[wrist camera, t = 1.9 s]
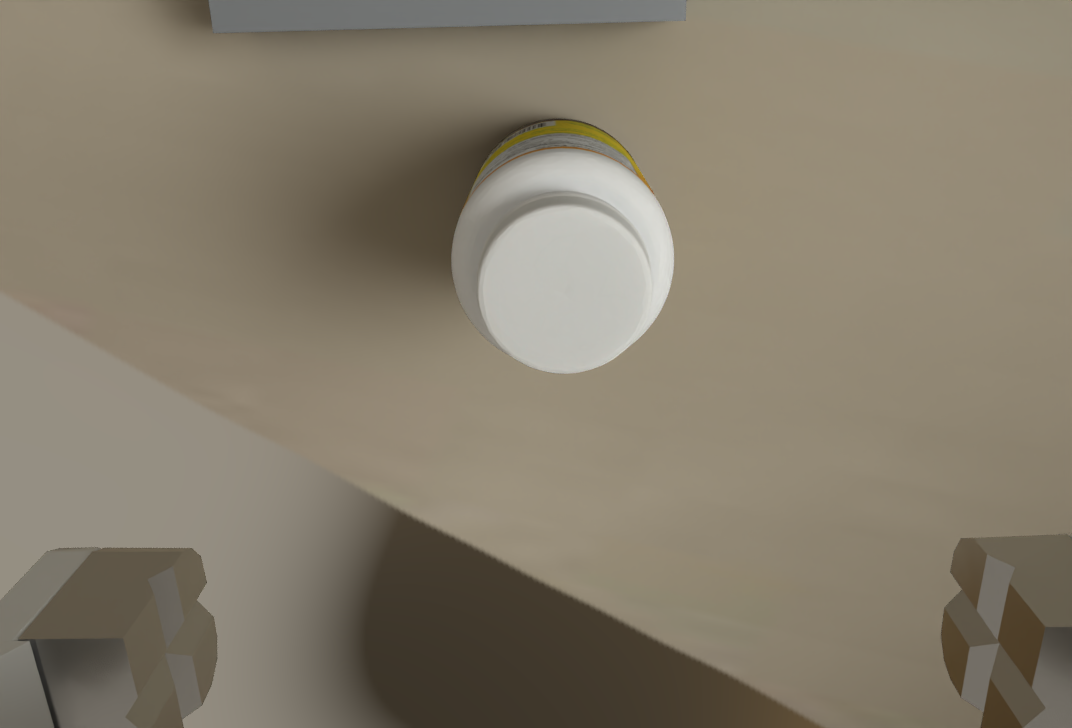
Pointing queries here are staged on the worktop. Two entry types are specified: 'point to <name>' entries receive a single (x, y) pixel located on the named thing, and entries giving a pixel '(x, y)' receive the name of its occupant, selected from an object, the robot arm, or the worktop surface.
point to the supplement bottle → (561, 248)
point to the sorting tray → (429, 13)
